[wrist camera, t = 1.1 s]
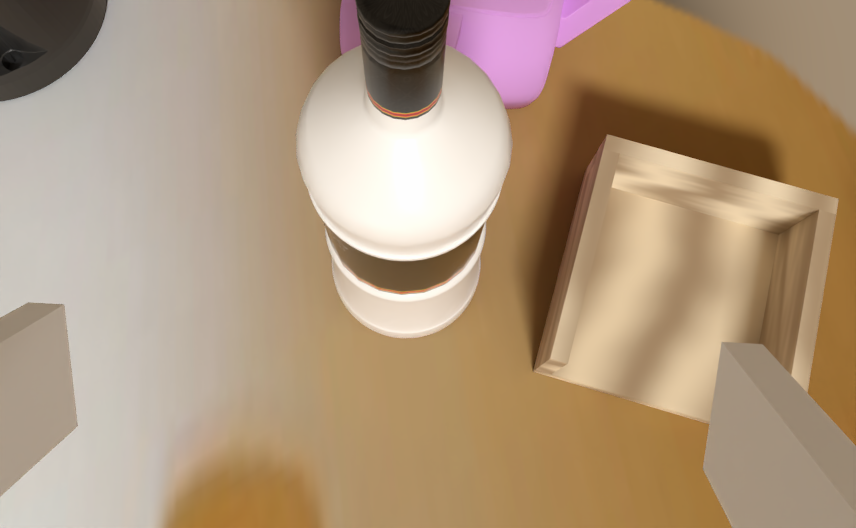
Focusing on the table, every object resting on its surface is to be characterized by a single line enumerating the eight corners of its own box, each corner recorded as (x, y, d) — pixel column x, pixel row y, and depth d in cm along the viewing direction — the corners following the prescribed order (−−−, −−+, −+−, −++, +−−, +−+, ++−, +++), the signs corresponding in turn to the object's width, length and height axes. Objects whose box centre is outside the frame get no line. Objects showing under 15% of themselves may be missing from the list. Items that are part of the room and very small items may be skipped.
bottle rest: (532, 371, 47) (550, 358, 41) (584, 171, 51) (607, 134, 45) (751, 436, 46) (800, 433, 41) (788, 229, 50) (838, 198, 44)
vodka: (438, 366, 47) (484, 209, 18) (308, 300, 48) (154, 50, 19) (501, 240, 49) (632, -79, 20) (376, 179, 50) (331, -210, 21)
